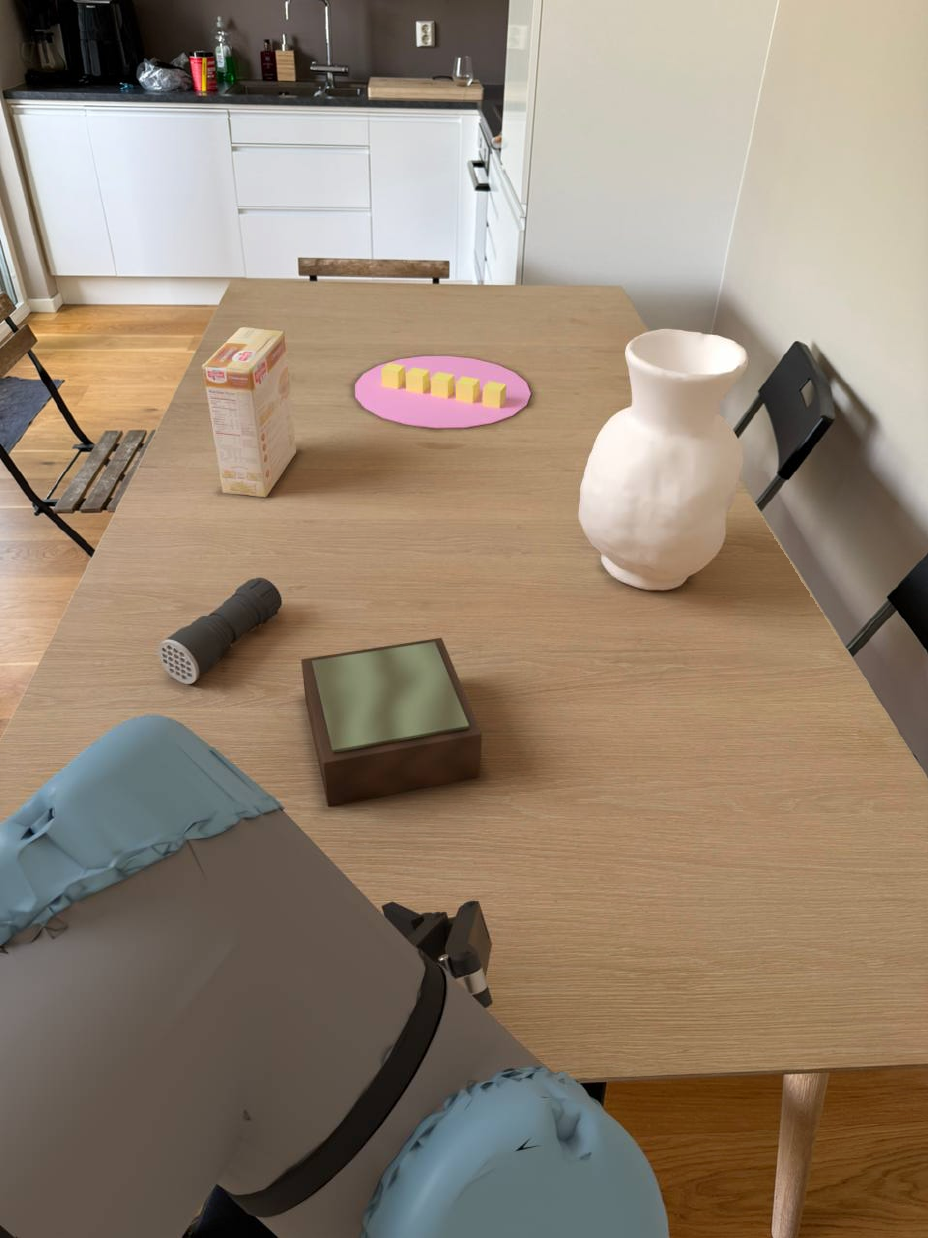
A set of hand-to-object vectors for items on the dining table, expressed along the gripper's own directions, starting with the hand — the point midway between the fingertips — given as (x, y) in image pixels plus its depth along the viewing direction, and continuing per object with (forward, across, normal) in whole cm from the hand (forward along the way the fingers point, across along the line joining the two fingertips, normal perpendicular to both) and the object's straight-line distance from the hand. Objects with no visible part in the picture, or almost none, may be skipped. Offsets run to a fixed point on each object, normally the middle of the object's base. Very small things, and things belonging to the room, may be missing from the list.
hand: (288, 968), depth 53 cm
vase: (+43, +61, +20) cm, 78 cm away
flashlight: (+48, +8, +25) cm, 55 cm away
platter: (+88, +62, +64) cm, 125 cm away
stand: (+33, +19, +10) cm, 39 cm away
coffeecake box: (+76, +24, +52) cm, 95 cm away
